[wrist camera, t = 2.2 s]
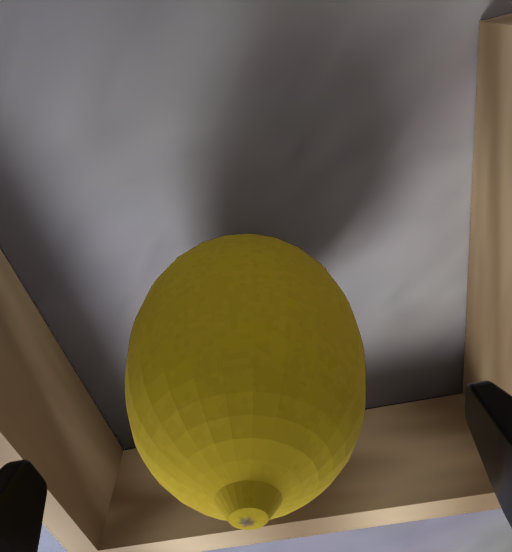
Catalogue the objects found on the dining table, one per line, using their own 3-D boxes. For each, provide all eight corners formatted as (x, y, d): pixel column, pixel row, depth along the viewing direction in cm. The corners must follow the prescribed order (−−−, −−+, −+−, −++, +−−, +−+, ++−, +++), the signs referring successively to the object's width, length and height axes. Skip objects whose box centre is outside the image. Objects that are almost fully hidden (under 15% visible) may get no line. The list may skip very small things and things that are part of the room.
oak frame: (110, 468, 19) (82, 568, 16) (-94, 159, 12) (-223, 226, 9) (487, 406, 18) (543, 502, 15) (523, 10, 11) (656, 20, 7)
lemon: (163, 172, 12) (71, 391, 6) (354, 204, 13) (474, 433, 6) (151, 326, 15) (80, 591, 9) (307, 345, 16) (356, 605, 9)
